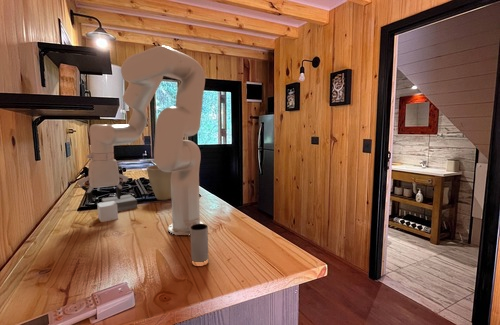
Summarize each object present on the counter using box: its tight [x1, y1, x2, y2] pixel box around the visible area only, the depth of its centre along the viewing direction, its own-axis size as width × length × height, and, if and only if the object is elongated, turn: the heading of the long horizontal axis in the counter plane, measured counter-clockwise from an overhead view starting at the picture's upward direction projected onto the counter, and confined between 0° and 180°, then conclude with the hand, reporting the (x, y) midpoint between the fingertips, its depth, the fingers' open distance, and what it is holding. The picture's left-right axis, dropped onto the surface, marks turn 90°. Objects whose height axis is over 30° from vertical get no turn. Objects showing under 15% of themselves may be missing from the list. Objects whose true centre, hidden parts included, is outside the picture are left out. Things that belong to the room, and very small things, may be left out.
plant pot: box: [146, 164, 172, 201], centre depth 135 cm, size 15×15×16 cm
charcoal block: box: [101, 194, 138, 212], centre depth 121 cm, size 12×12×4 cm
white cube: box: [96, 201, 119, 223], centre depth 107 cm, size 6×6×6 cm
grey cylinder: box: [190, 223, 209, 262], centre depth 73 cm, size 4×4×10 cm
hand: (105, 200), depth 106 cm, fingers open, 9 cm apart
